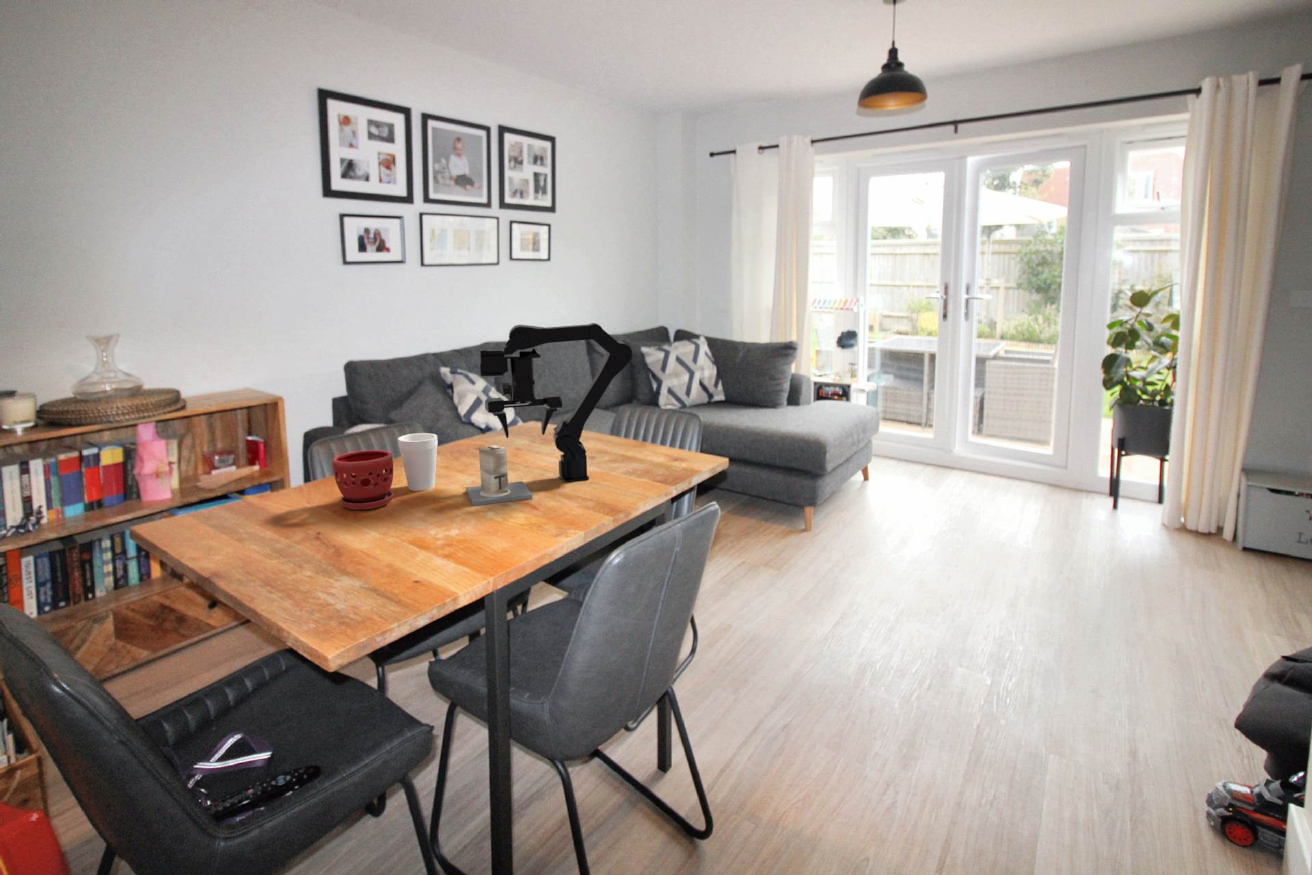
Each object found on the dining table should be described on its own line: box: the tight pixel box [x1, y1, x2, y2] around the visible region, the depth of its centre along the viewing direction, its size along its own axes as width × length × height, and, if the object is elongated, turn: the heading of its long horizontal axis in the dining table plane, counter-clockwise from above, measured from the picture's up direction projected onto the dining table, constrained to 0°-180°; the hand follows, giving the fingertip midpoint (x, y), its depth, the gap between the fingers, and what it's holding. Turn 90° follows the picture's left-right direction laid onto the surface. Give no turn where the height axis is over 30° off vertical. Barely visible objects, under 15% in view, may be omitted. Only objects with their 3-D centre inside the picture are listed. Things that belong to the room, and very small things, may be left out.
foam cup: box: [397, 432, 439, 492], centre depth 187 cm, size 10×9×13 cm
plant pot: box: [331, 449, 394, 511], centre depth 174 cm, size 13×13×12 cm
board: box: [465, 480, 533, 507], centre depth 182 cm, size 14×12×1 cm
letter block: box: [478, 444, 509, 496], centre depth 179 cm, size 5×5×11 cm
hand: (525, 436), depth 190 cm, fingers open, 9 cm apart
